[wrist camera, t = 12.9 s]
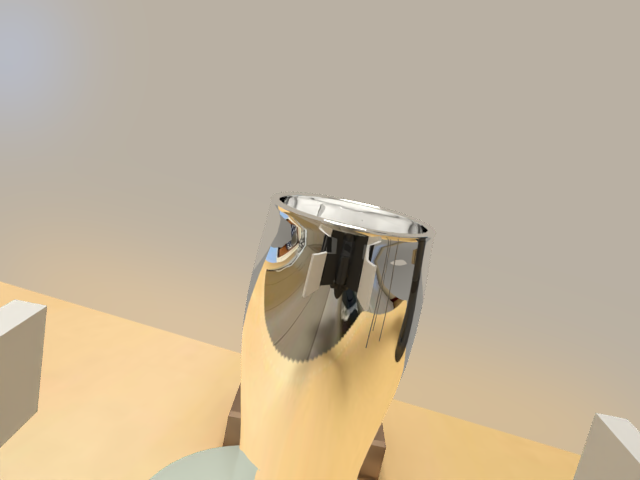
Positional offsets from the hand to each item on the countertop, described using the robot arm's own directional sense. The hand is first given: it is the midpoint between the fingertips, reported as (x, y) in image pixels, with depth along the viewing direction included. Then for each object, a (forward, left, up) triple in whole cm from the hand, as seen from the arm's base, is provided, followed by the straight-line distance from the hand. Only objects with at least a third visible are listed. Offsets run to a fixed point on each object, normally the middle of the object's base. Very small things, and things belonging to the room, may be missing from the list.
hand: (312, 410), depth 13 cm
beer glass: (-1, -10, -12) cm, 15 cm away
